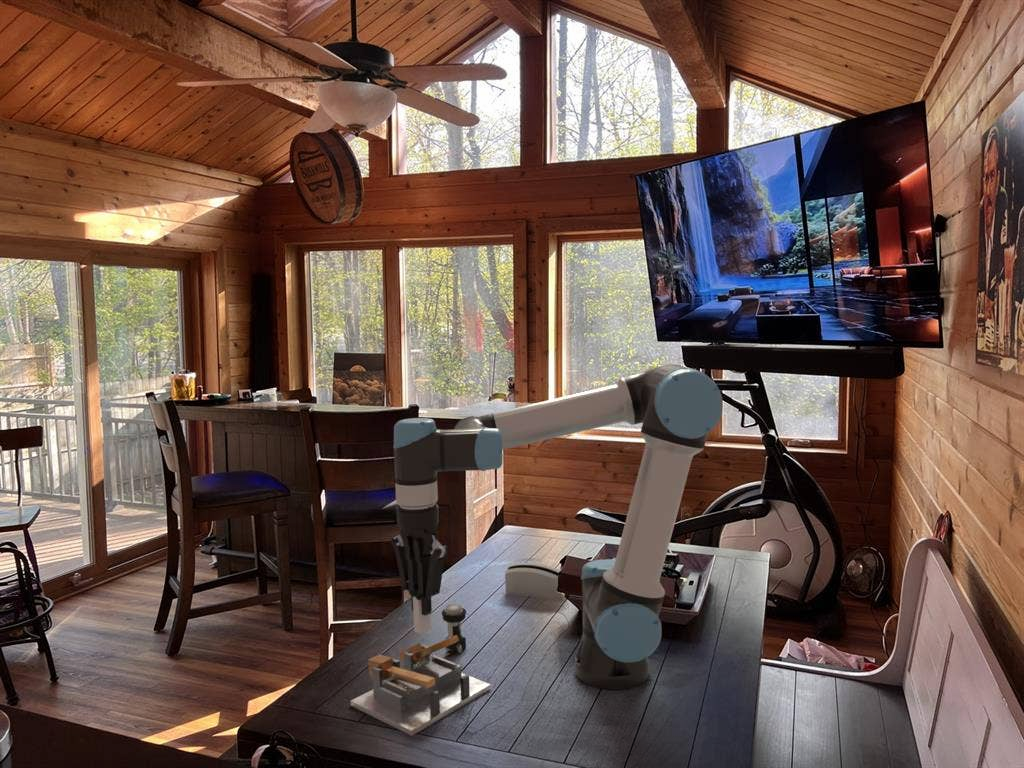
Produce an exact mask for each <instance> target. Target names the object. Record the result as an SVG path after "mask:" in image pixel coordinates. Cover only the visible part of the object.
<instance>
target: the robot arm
mask: <svg viewBox="0 0 1024 768" xmlns="http://www.w3.org/2000/svg"><path fill="white" fill-rule="evenodd" d="M723 401H724V400H723V397H722V393H721V391H720V388H719V387H718V385H717V384H716V383H715V380H713V379H712V378H710V377H709V376H708V375H707V374H705V373H704V372H702V371H700V370H699V369H695V368H694V367H693V368H691V367H685V366H682V365H678V364H664V365H660V366H656V367H652V368H650V369H647V370H645V371H641V372H637V373H634V374H631V375H627V376H623V377H620V378H619V379H618V380H617V382H616V383H615V384H612V385H607V386H602V387H598V388H595V389H590V390H586V391H582V392H577V393H574V394H570V395H569V394H568V395H565V396H564V395H563V396H560V397H556V398H552V399H548V400H544V401H540V402H539V401H538V402H535V403H531V404H525V405H522V406H518V407H514V408H509V409H505V410H500V411H496V412H494V413H488V414H484V415H480V416H479V415H478V416H475V415H471V416H466V417H463V418H462V419H460V420H458V422H457V423H456V425H454V428H453V429H452V428H451V429H440V428H439V429H438V428H437V426H436V422H435V420H434V419H432V418H429V417H428V418H427V417H426V418H421V417H413V418H404V419H400V420H398V421H397V422H396V423H395V424H394V426H393V447H392V448H393V458H394V459H393V460H394V473H395V474H394V476H395V503H396V504H397V507H396V523H397V527H398V528H399V529H400V530H399V534H398V535H396V536H394V537H391V538H390V543H391V545H392V547H393V550H394V553H395V558H396V559H395V560H396V561H397V563H396V564H397V567H398V568H397V569H398V573H399V578H400V582H401V583H400V585H401V587H402V590H403V591H408V594H409V595H410V599H411V600H410V601H411V603H410V605H411V611H412V612H413V631H414V633H417V634H422V633H424V632H426V631H429V630H430V629H431V614H432V611H433V610H432V609H433V607H432V597H434V596H436V595H439V594H440V592H441V585H442V578H443V574H444V573H443V571H444V565H445V559H446V556H447V554H448V553H449V547H448V546H447V545H442V544H441V542H439V536H438V534H437V526H438V525H439V523H440V517H439V505H438V504H437V502H438V500H439V495H438V494H439V492H438V472H464V471H465V472H467V471H481V472H485V471H487V470H488V471H489V470H498V469H500V468H501V467H502V466H503V463H504V462H503V459H504V457H503V451H504V450H507V449H508V450H509V449H512V448H517V447H521V446H526V445H529V444H534V443H538V442H543V441H547V440H551V439H555V438H559V437H563V436H568V435H573V434H576V433H580V432H584V431H585V432H586V431H589V430H593V429H599V428H603V427H606V426H607V427H608V426H610V425H616V424H619V423H624V422H625V423H627V424H629V425H631V426H633V425H637V424H641V425H642V426H641V429H640V431H639V433H640V435H641V437H642V439H643V440H644V442H645V446H644V451H643V454H642V457H641V458H642V459H641V461H640V465H639V469H638V473H637V477H636V480H635V485H634V488H633V492H632V497H631V500H630V504H629V508H628V510H627V511H628V512H627V515H626V519H625V523H624V526H623V530H622V535H621V538H620V542H619V546H618V550H617V553H616V558H613V559H611V558H610V559H606V558H605V559H597V560H591V561H588V562H587V563H585V564H584V565H583V566H582V569H581V570H582V571H581V577H580V580H581V588H582V589H581V592H582V593H581V596H582V599H581V600H582V601H581V602H582V604H581V605H582V635H581V639H580V642H579V646H578V649H577V652H576V655H575V658H574V673H575V675H576V677H577V678H578V680H580V681H581V682H583V683H585V684H587V685H588V686H592V687H595V688H599V689H604V690H625V689H631V688H633V687H637V686H640V685H642V684H643V683H645V682H646V681H647V679H648V678H649V677H650V661H649V659H648V657H650V656H651V655H652V654H653V653H654V652H655V651H656V650H657V648H658V647H659V645H660V643H661V639H662V633H663V632H662V622H661V620H660V617H659V616H660V614H661V609H662V606H663V602H664V598H665V594H666V591H665V589H664V588H663V586H662V584H661V581H660V579H661V575H662V571H663V569H664V564H665V560H666V557H667V554H668V550H669V546H670V543H671V539H672V534H673V531H674V527H675V524H676V521H677V520H676V519H677V516H678V512H679V509H680V505H681V503H682V502H681V501H682V497H683V493H684V490H685V487H686V483H687V478H688V475H689V472H690V468H691V464H692V460H693V458H694V456H695V455H697V454H699V453H700V452H702V451H704V450H705V445H706V441H707V439H708V434H709V433H710V432H711V431H713V430H714V429H715V428H716V427H717V425H718V423H719V421H720V419H721V417H722V413H723V408H724V404H723Z"/></svg>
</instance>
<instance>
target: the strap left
mask: <svg viewBox="0 0 1024 768" xmlns="http://www.w3.org/2000/svg"><path fill="white" fill-rule="evenodd" d="M393 658H394V657H390V656H386V655H384V654H383V655H382V654H377V655H375V656H373V657H370V658H368V669H369V670H368V671H369V677H370V678H373V672H372V668H373V667H375V666H376V667H378V668H381V669H382V672H383V680H387V679H391V678H394V679H397V680H401V681H404V682H407V683H411V684H414V685H417V686H421V687H424V688H430V687H431V686H433V685H435V678H434V677H430V676H426V675H423V674H419V673H416V672H412V671H409V670H405V669H404V668H401V667H400V668H398V667H394V666H393Z"/></svg>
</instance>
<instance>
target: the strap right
mask: <svg viewBox="0 0 1024 768" xmlns="http://www.w3.org/2000/svg"><path fill="white" fill-rule="evenodd" d="M458 641H459V638H458V636H457V635H455V636H453V637H450V638H448V637H447V638H446V639H444V640H441V641H439V642H437V643H435V644H432V645H430V646H429V645H428V646H429V647H427V648H425V649H422V648H421V645H422V644H420V642H418V643H416V644H414V645H411V646H409V647H407V648H405V649H403V650H401V651H399V652H397V653H398V657H399V658H400V662H401V663H402V667H403V668H404V653H405V652H409V653H411V654H413V657H414V665H415V664H417V665H418V664H420V662H421V661H423V660H425V659H426V658H425V655H428V654H430V655H431V654H432V653H434V652H437V651H439V650H442V649H445V647H447V646H449V645H451V644H454V643H456V642H458Z"/></svg>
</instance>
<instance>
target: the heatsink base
mask: <svg viewBox="0 0 1024 768" xmlns="http://www.w3.org/2000/svg"><path fill="white" fill-rule="evenodd" d="M420 645H421V648H422V649H425V648H427V647H429V645H427V644H424V643H422V644H420ZM392 658H393V666H394V667H398V668H401V660H399V659H396V658H394V657H392ZM425 658H426V659H425V660H423V661H421V662H419V664H418V663H417V664H415V665H414V657H413V654H411V653H409V652H405V653H404V667H403V669H405V670H409V671H412V672H416V673H419V674H423V675H426V676H430V677H434V678H435V685H433V686H431V687H430V688H424V687H421V686H417V685H414V684H411V683H407V682H404V681H401V680H397V679H394V678H390V681H389V680H387V679H386V680H383V672H382V669H381V668H378V667H376V666H375V667H373V668H372V672H373V677H372V689H371V690H369V691H367V692H366V693H363V694H361V695H359V696H357V697H355V698H353V699H351V700H350V706H351V707H353V708H354V709H357V710H359V711H361V712H363V713H365V714H367V715H369V716H371V717H372V718H375V719H377V720H378V721H381V722H384V723H385V724H387V725H389V726H391V727H393V728H394V729H397V730H399V731H401V732H403V733H405V734H407V735H408V736H411V737H412V736H414V735H416V734H417V733H419V732H422V730H424V729H426V728H427V727H430V726H431V725H432V724H435V723H436V722H437V721H440V720H441V719H443V718H444V717H446V716H448V715H450V714H452V713H453V712H454V711H456V710H458V709H460V708H461V707H463V706H465V705H467V704H468V703H470V702H471V701H473V700H475V699H476V698H478V697H480V696H481V695H484V694H485V693H487V692H488V691H490V690H492V688H491V687H492V686H491V684H490V683H488V682H485V681H483V680H481V679H478V678H475V677H472V676H470V675H469V674H467V673H466V674H465V673H463V672H462V665H461V664H457V663H455V662H453V661H450V660H448V659H445V658H443V657H440V656H437V655H435V654H433V655H432V656H431V653H430V654H428V655H425Z"/></svg>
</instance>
